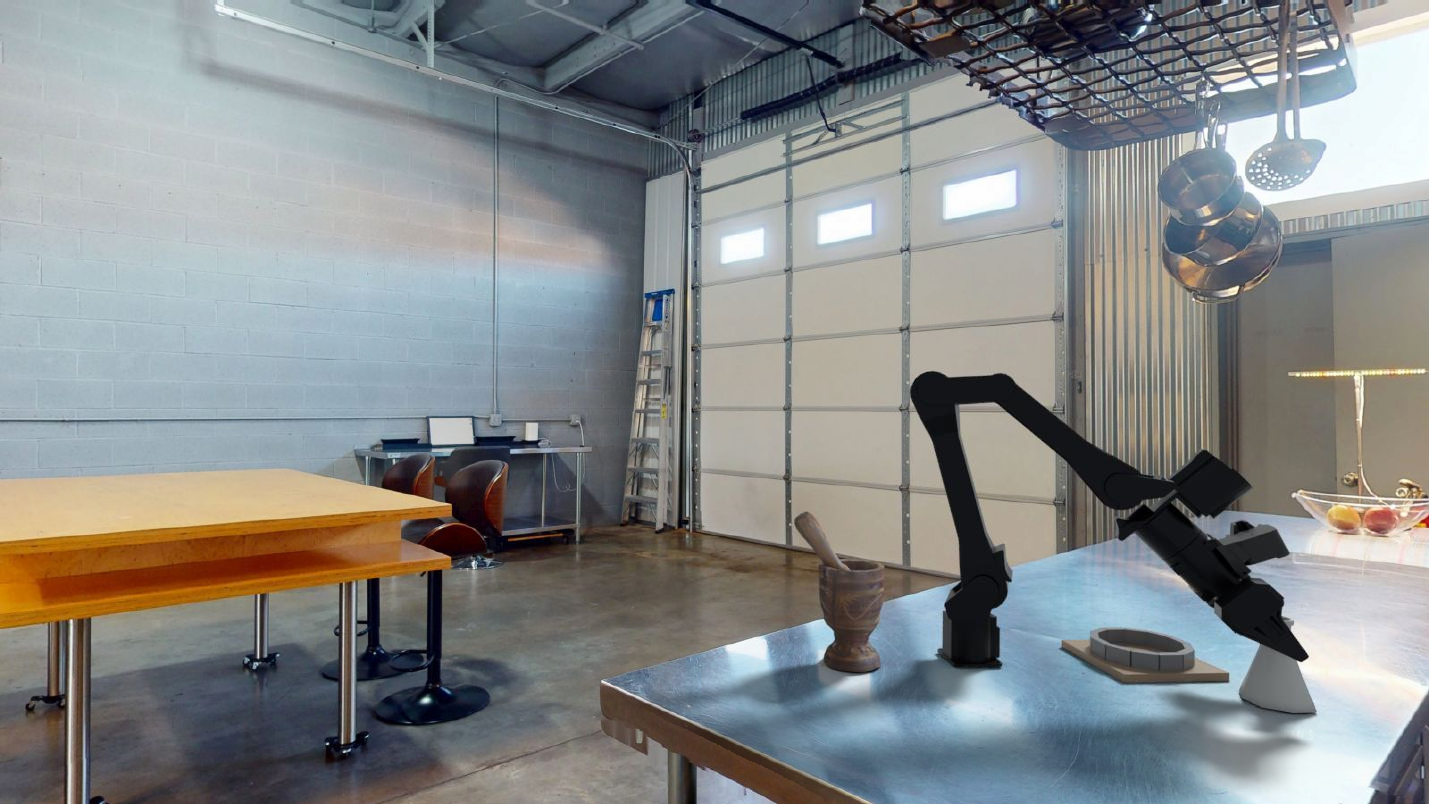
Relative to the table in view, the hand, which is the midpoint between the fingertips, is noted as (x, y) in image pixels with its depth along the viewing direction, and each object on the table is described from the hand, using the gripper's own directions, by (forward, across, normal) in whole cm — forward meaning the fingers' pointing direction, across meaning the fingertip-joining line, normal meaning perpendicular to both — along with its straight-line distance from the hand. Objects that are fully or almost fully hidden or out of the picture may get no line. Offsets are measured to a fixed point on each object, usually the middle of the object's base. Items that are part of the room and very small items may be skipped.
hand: (1291, 647), depth 85 cm
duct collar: (-5, +9, +15) cm, 18 cm away
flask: (+4, 0, +6) cm, 7 cm away
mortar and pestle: (-31, -9, +41) cm, 52 cm away
